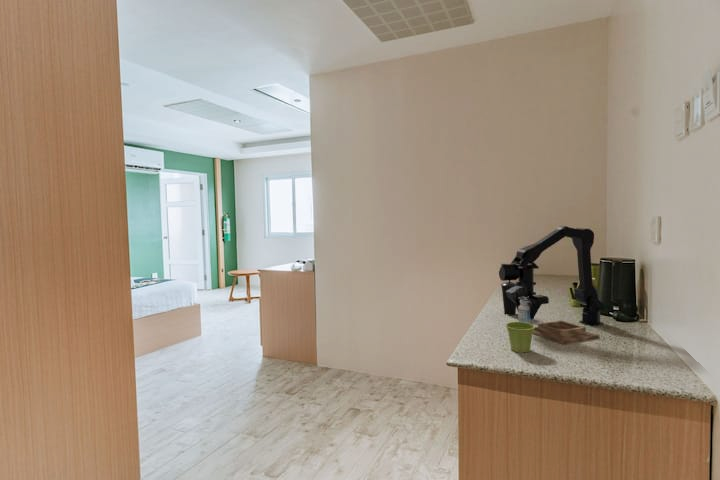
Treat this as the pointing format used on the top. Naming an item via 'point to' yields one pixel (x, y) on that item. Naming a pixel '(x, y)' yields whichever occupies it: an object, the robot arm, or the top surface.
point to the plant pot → (520, 336)
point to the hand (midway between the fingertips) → (526, 317)
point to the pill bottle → (524, 312)
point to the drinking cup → (508, 304)
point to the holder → (563, 332)
